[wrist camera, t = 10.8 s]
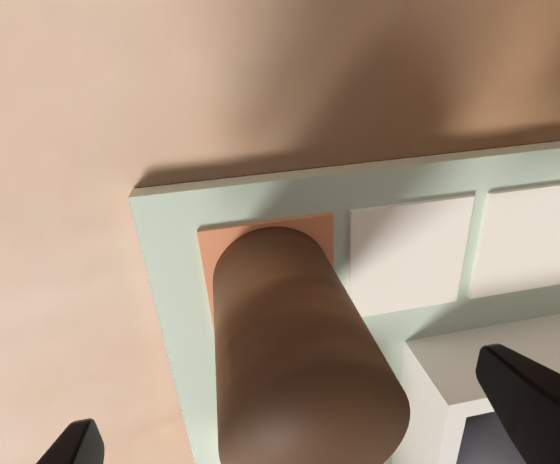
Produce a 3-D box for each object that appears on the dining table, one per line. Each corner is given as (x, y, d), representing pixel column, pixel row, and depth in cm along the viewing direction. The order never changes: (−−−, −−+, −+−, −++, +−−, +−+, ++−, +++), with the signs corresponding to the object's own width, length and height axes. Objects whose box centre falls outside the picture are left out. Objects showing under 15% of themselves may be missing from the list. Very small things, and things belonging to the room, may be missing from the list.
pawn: (328, 218, 13) (419, 345, 7) (328, 316, 14) (402, 476, 9) (204, 235, 12) (204, 384, 7) (220, 334, 14) (231, 516, 8)
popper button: (559, 340, 17) (685, 444, 13) (528, 430, 20) (623, 542, 15) (433, 364, 16) (519, 484, 12) (418, 455, 19) (484, 580, 14)
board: (630, 132, 14) (771, 161, 11) (532, 422, 21) (597, 497, 18) (132, 188, 12) (102, 247, 8) (206, 493, 19) (206, 595, 16)
